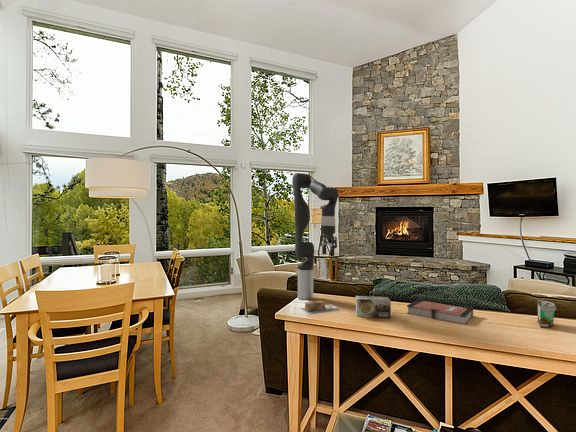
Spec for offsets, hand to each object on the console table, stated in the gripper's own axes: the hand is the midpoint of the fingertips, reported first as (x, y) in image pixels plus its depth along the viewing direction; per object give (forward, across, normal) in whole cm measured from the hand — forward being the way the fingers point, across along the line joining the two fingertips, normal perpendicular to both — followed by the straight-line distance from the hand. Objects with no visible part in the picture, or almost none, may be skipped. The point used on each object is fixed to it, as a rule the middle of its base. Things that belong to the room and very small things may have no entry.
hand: (328, 255), depth 176 cm
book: (+29, +31, +45) cm, 62 cm away
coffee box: (+24, +16, +6) cm, 29 cm away
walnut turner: (+28, +2, -6) cm, 28 cm away
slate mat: (+28, +2, -6) cm, 29 cm away
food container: (+28, +61, +78) cm, 103 cm away
